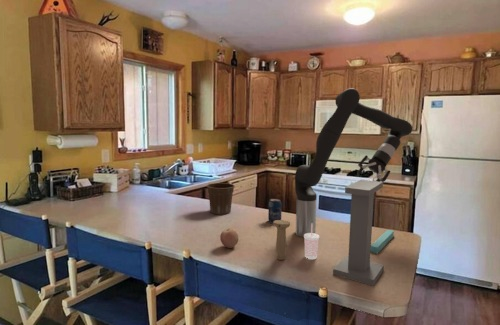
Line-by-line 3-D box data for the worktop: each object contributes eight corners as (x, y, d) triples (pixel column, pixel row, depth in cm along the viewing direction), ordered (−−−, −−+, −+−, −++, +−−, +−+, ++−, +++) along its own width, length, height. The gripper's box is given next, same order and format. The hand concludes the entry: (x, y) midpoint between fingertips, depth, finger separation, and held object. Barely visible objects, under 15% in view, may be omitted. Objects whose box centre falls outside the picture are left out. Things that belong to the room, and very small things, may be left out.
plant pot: (233, 208, 205) (233, 182, 203) (235, 215, 189) (235, 187, 187) (207, 208, 203) (206, 182, 201) (207, 216, 187) (206, 188, 185)
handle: (275, 255, 134) (275, 219, 132) (290, 257, 132) (291, 221, 130) (271, 259, 130) (271, 222, 128) (286, 262, 127) (287, 225, 125)
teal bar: (377, 254, 137) (377, 247, 136) (369, 252, 139) (370, 245, 138) (393, 236, 157) (394, 230, 157) (387, 235, 159) (387, 229, 159)
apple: (229, 242, 148) (229, 225, 147) (242, 246, 143) (242, 228, 142) (216, 247, 142) (216, 229, 141) (229, 252, 137) (229, 233, 136)
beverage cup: (300, 257, 132) (301, 223, 130) (306, 252, 137) (308, 220, 135) (315, 261, 129) (316, 226, 127) (320, 256, 134) (322, 222, 132)
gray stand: (373, 285, 110) (378, 191, 106) (332, 274, 118) (336, 186, 114) (386, 266, 125) (391, 183, 121) (349, 257, 133) (353, 178, 129)
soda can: (270, 224, 174) (271, 201, 173) (266, 220, 181) (266, 198, 179) (283, 223, 176) (283, 201, 175) (278, 219, 183) (278, 197, 181)
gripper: (373, 143, 159) (355, 169, 155) (399, 160, 156) (381, 187, 152) (368, 149, 166) (351, 173, 163) (393, 165, 163) (376, 191, 160)
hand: (366, 180), depth 157 cm, fingers open, 8 cm apart
